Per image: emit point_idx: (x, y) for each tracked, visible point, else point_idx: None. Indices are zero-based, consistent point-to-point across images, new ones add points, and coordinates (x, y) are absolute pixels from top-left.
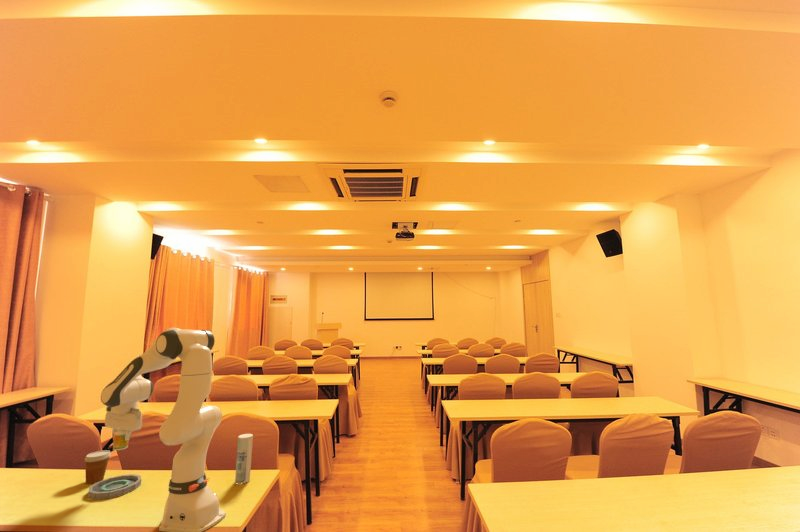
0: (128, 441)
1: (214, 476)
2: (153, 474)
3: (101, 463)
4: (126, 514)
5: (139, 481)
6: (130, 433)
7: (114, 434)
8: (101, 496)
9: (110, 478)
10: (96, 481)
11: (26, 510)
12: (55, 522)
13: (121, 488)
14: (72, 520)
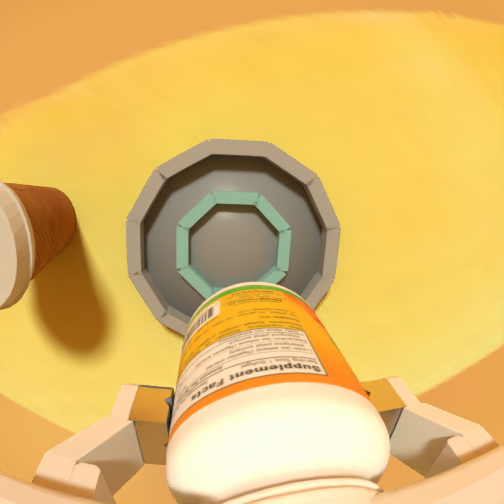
0: (319, 324)
1: (492, 65)
2: (252, 66)
3: (41, 246)
4: (443, 343)
5: (323, 190)
6: (449, 429)
7: (133, 465)
8: None
9: (141, 221)
10: (73, 231)
11: None
12: None
13: (321, 280)
14: None
